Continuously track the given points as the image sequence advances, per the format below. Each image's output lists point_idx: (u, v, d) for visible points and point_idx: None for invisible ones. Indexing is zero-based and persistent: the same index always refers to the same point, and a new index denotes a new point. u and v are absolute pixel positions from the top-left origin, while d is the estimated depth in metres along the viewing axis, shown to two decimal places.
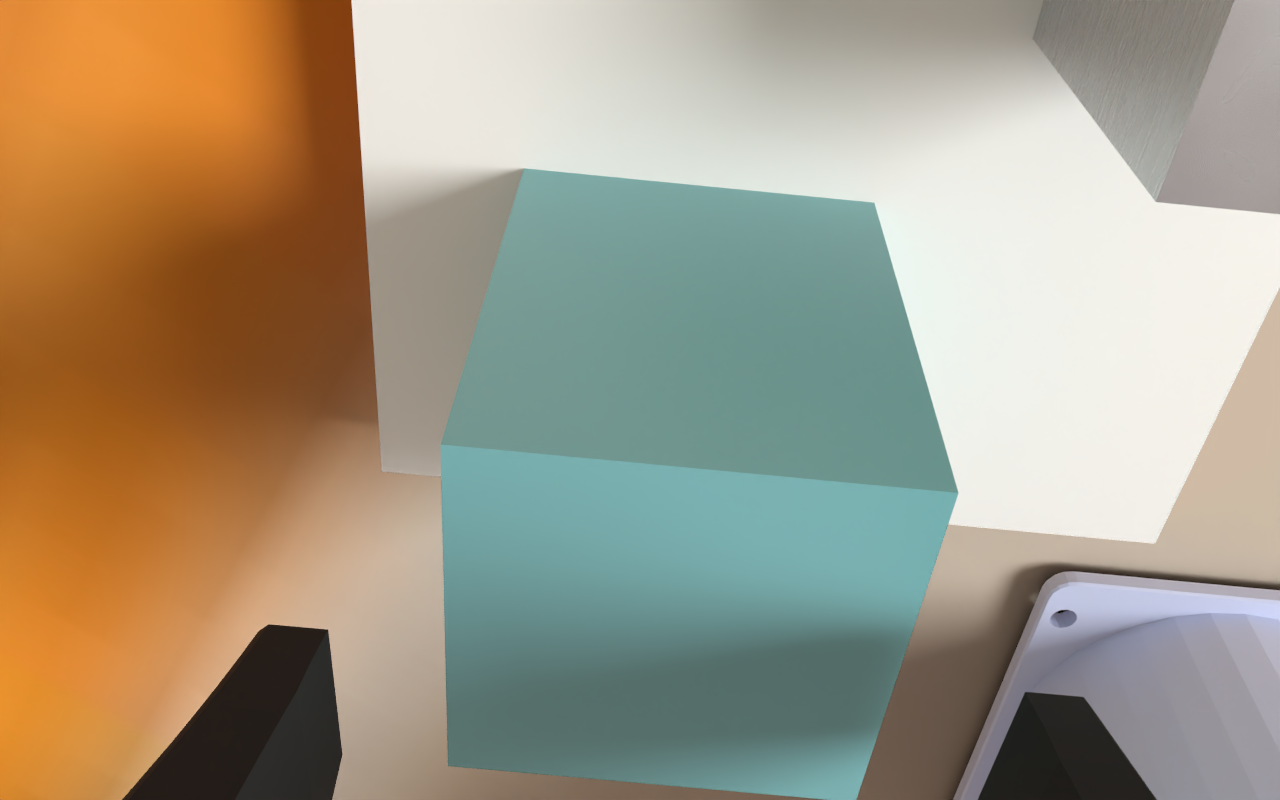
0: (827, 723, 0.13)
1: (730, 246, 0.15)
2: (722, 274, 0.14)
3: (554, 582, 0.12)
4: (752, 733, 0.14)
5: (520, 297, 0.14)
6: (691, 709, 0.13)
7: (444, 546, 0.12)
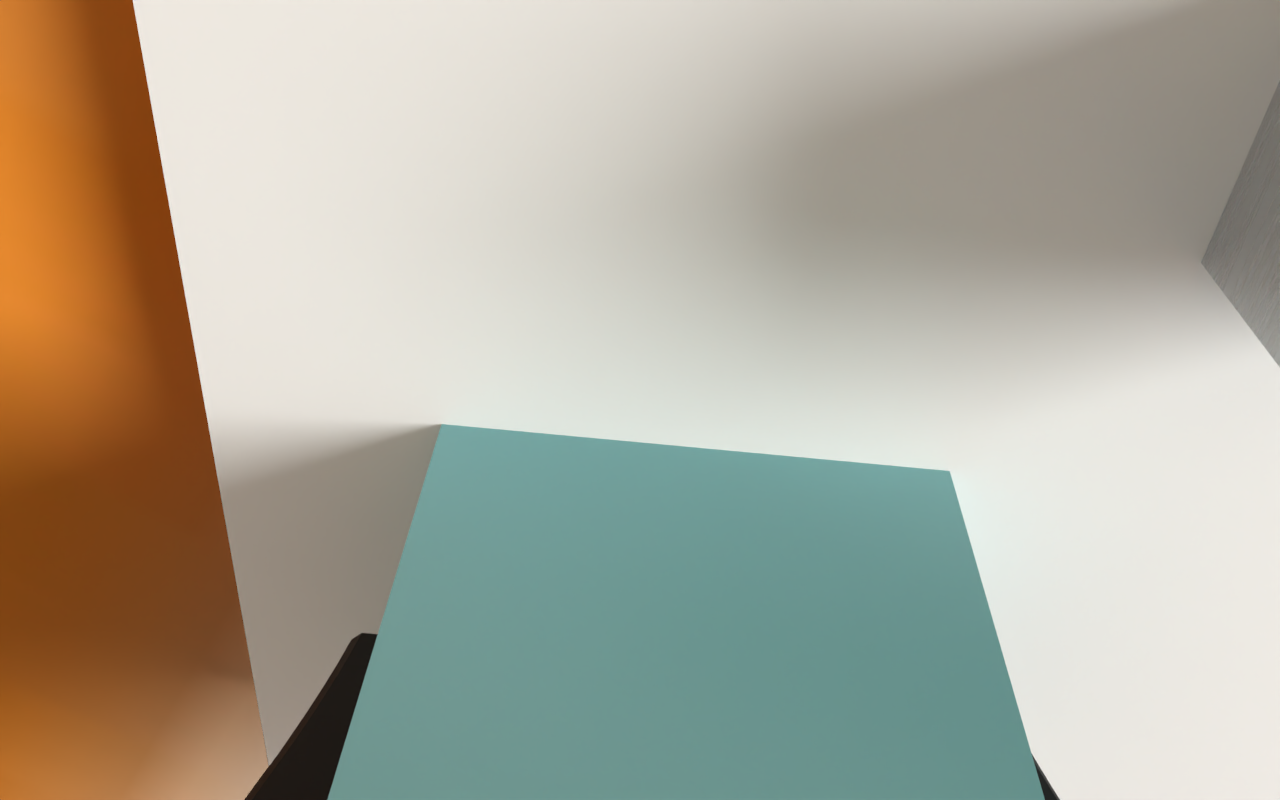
0: None
1: (743, 578, 0.10)
2: (731, 647, 0.09)
3: None
4: None
5: (408, 722, 0.08)
6: None
7: None
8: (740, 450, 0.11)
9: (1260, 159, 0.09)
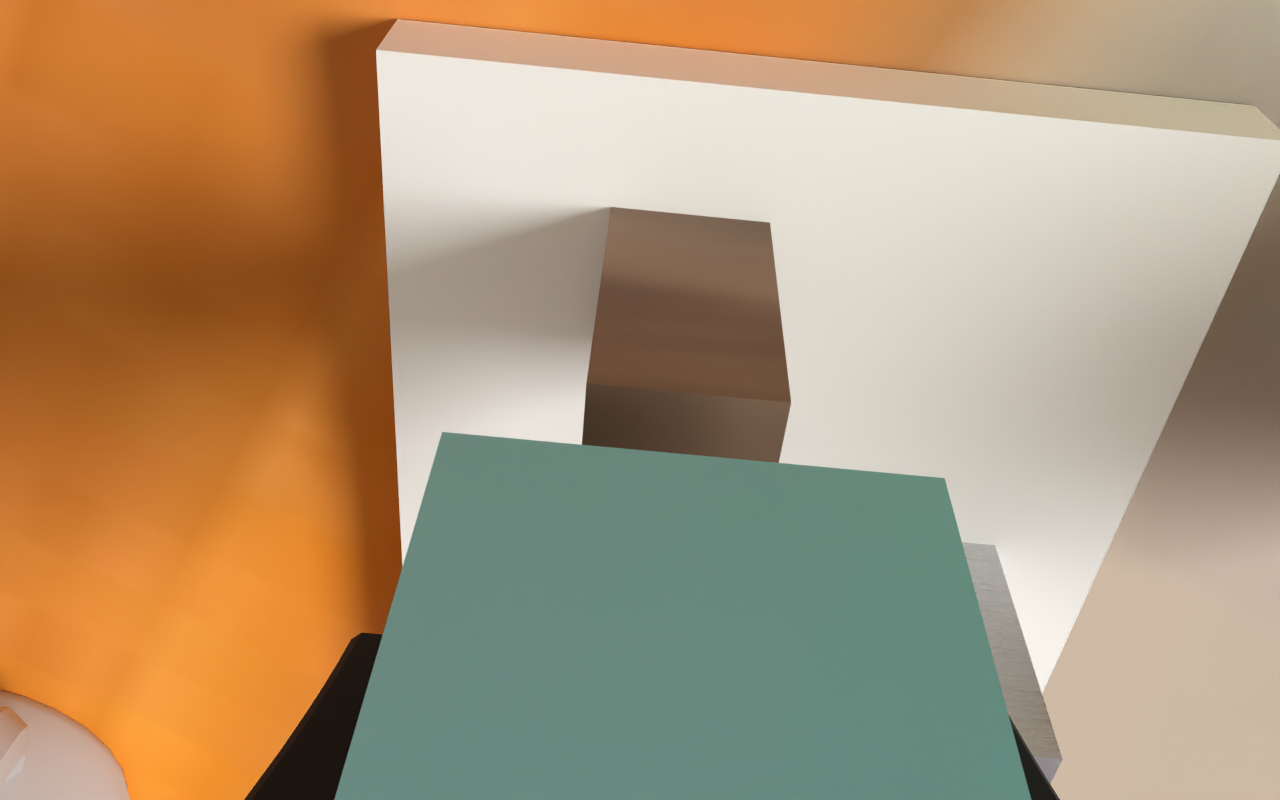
0: None
1: (738, 587, 0.10)
2: (729, 657, 0.09)
3: None
4: None
5: (408, 733, 0.09)
6: None
7: None
8: None
9: None
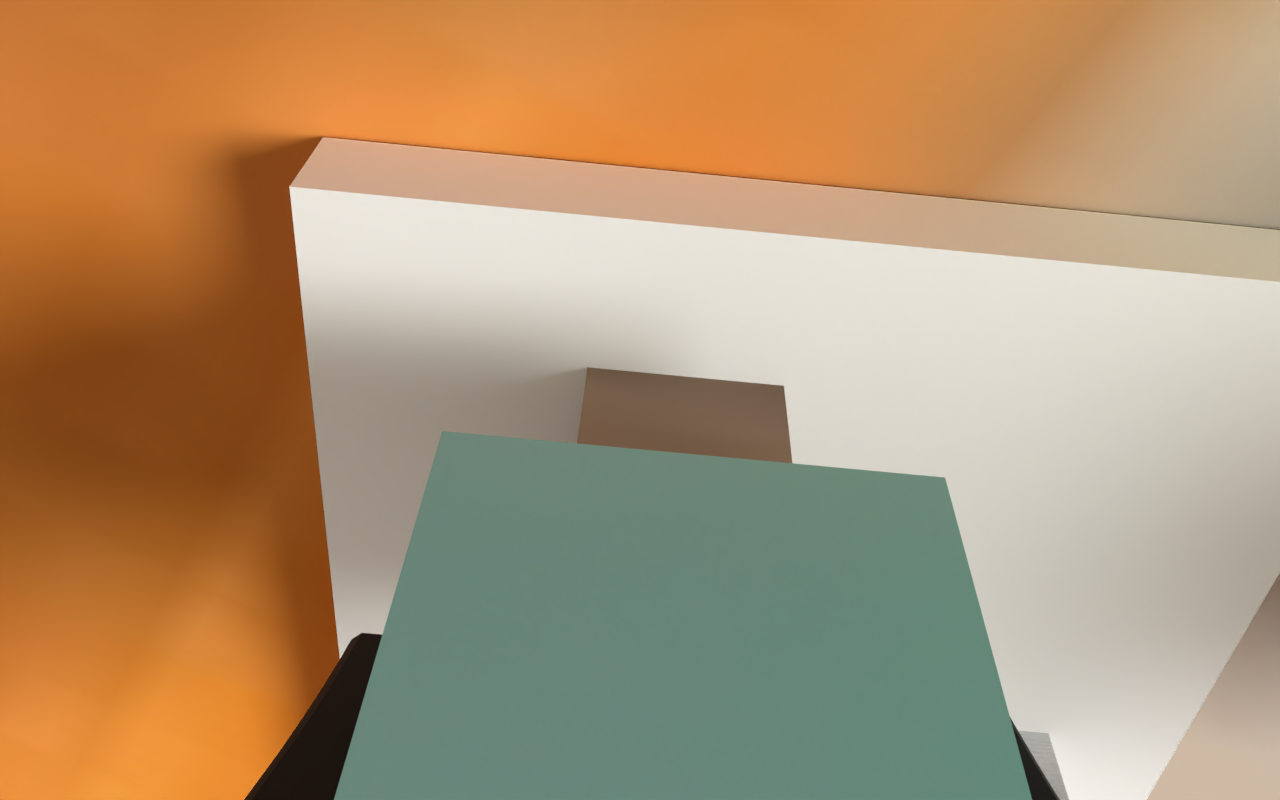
0: None
1: (740, 586, 0.10)
2: (729, 655, 0.09)
3: None
4: None
5: (408, 732, 0.09)
6: None
7: None
8: None
9: None
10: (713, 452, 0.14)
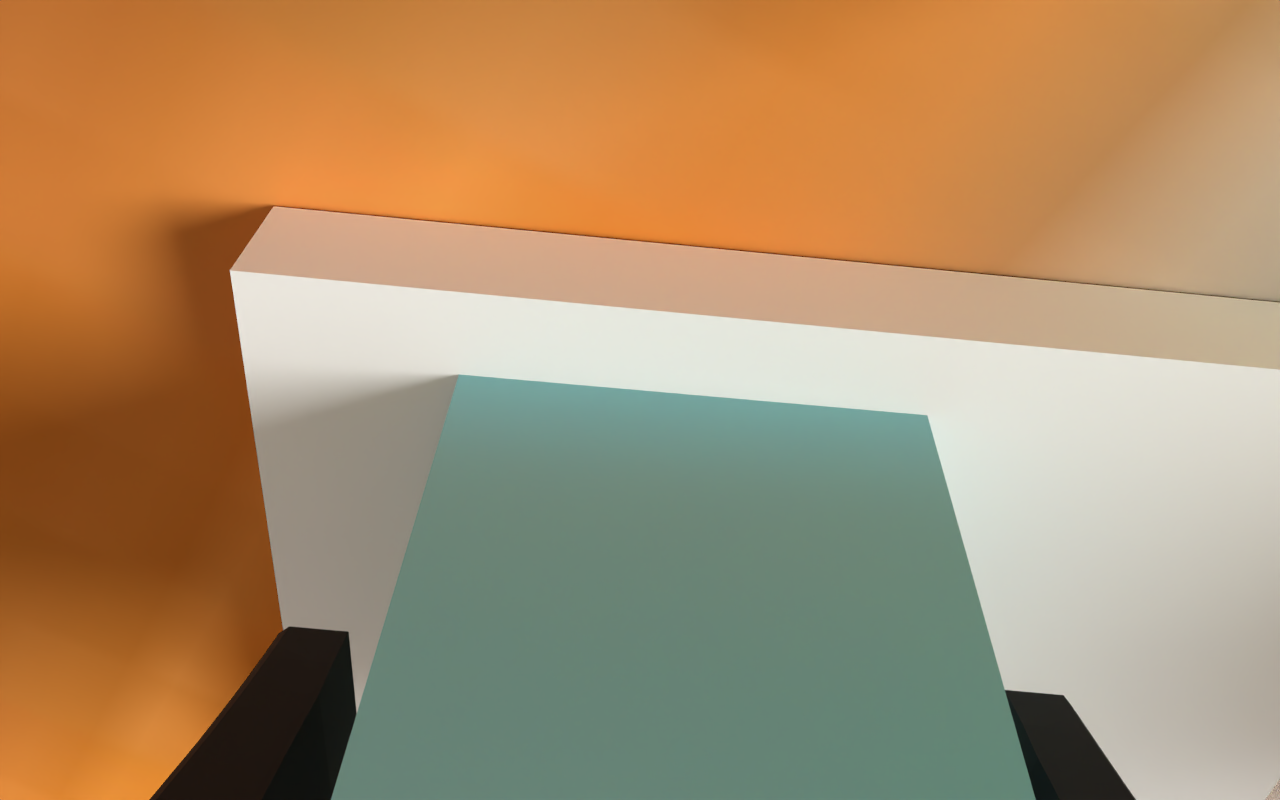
0: None
1: (735, 506, 0.11)
2: (725, 563, 0.10)
3: None
4: None
5: (433, 625, 0.09)
6: None
7: None
8: None
9: None
10: None
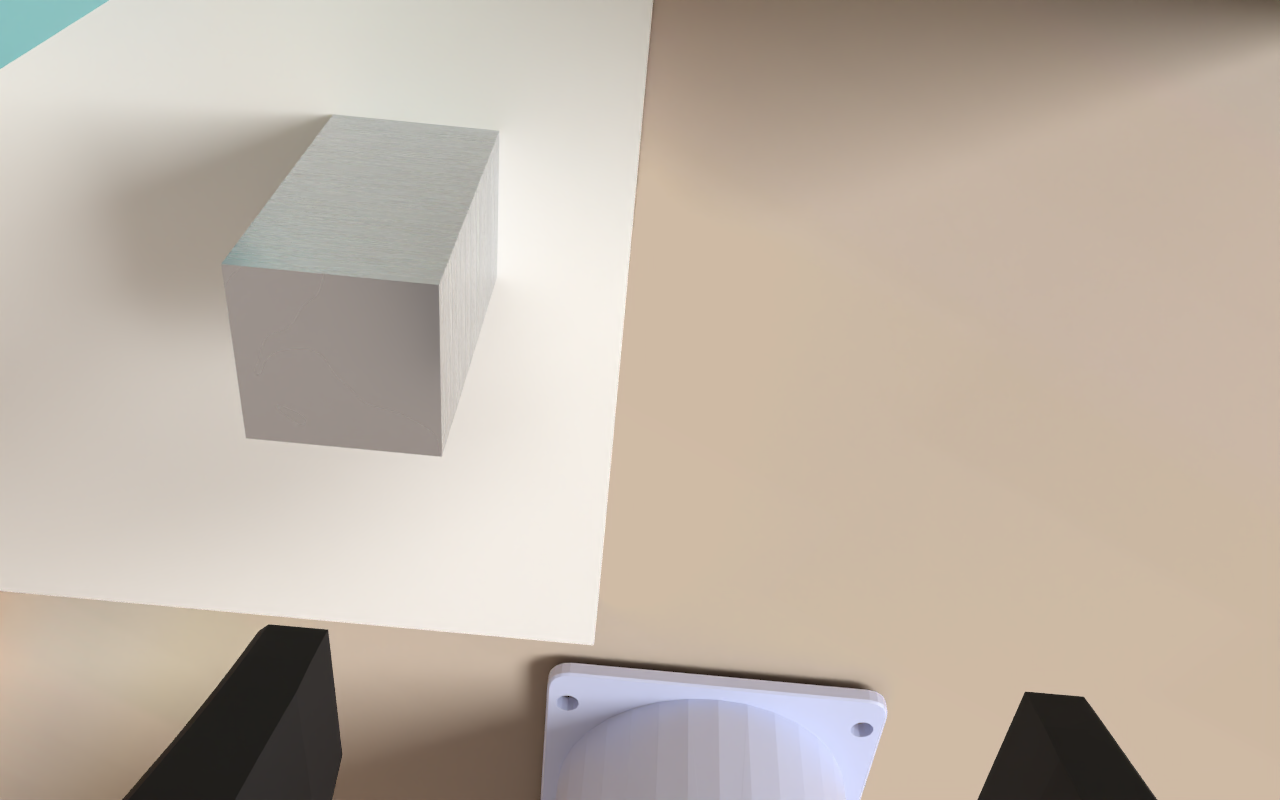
0: None
1: None
2: None
3: None
4: None
5: None
6: None
7: None
8: (146, 368, 0.20)
9: None
10: None
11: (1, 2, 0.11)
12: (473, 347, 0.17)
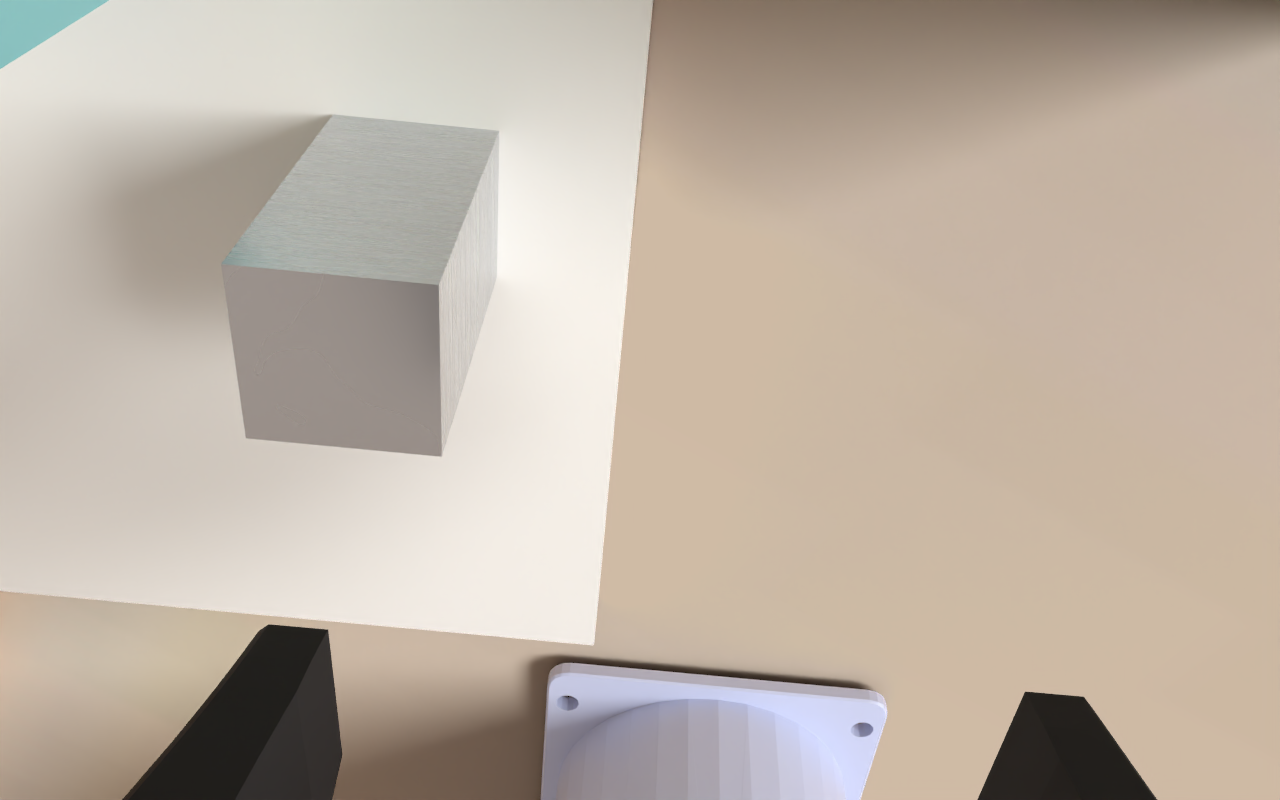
0: None
1: None
2: None
3: None
4: None
5: None
6: None
7: None
8: (146, 369, 0.20)
9: None
10: None
11: (1, 2, 0.11)
12: (473, 347, 0.17)
